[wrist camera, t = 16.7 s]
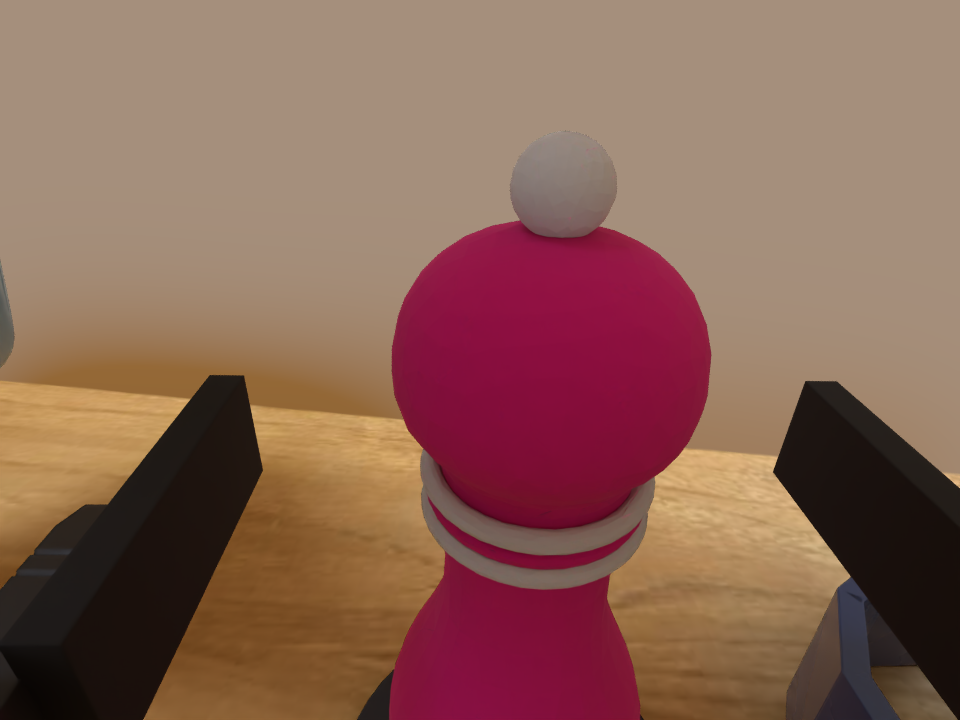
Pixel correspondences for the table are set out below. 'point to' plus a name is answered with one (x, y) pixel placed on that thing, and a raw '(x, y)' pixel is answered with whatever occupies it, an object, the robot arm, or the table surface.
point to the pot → (846, 663)
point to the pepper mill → (540, 443)
